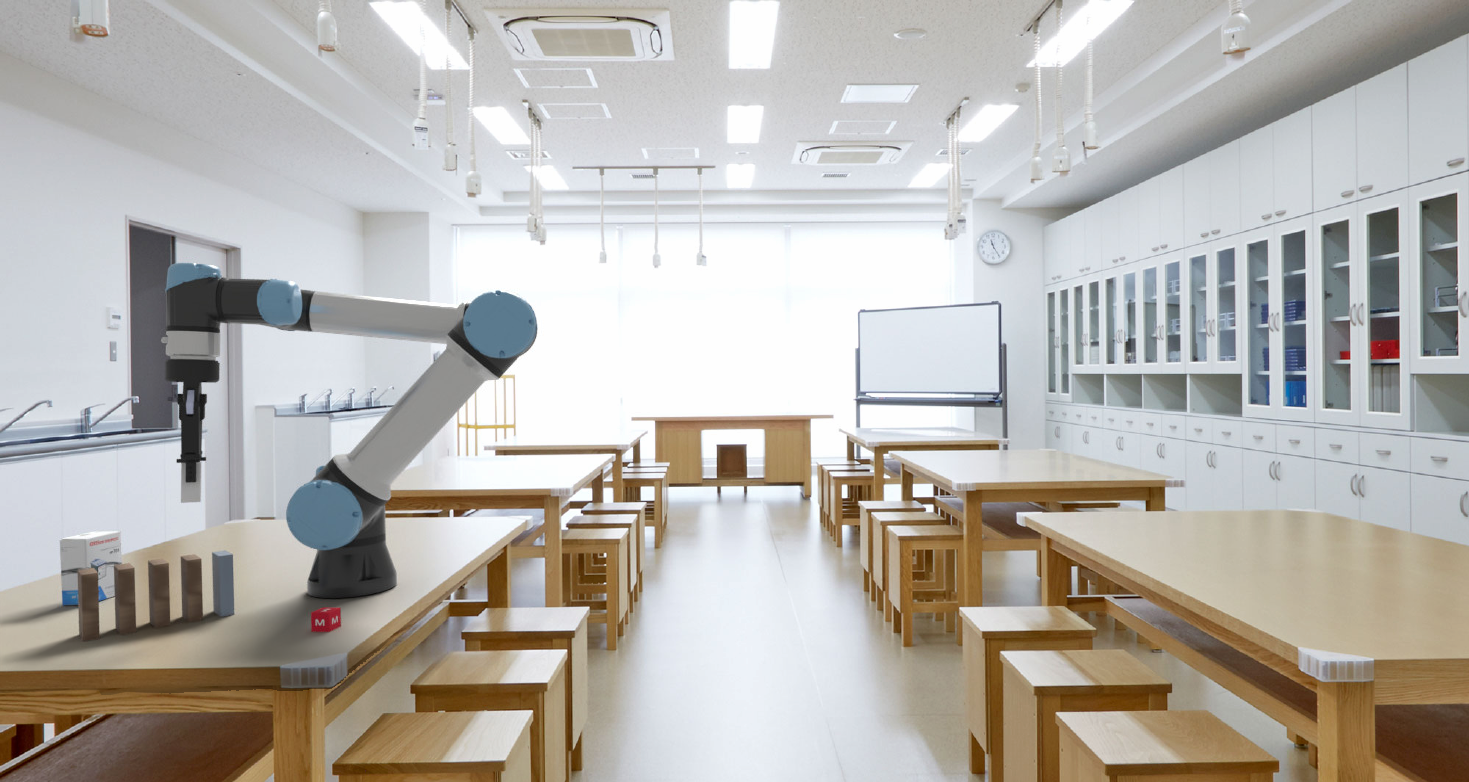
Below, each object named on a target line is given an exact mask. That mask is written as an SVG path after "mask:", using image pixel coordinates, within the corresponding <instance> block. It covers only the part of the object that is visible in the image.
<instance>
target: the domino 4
mask: <svg viewBox="0 0 1469 782" xmlns="http://www.w3.org/2000/svg"><path fill="white" fill-rule="evenodd" d="M211 563H212V564H211V566H212V567H211V568H212V569H211V570H212V599H213V601H212V603H213V604H212V606H213V609H212V610H213V612H214V613H215V614H216V615H218V616H219V617H226V616H227V617H228V616H232V615H233V616H234V615H235V590H234V588H235V583H234V581H235V579H234V554H233V553H231V552H230V551H227V550H226V549H225V550H219V551H217V550H216V551H212V552H211Z"/></svg>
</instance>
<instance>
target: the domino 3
mask: <svg viewBox="0 0 1469 782" xmlns="http://www.w3.org/2000/svg"><path fill="white" fill-rule="evenodd" d="M202 566H203V565H202V558H201V557H200V556H198V555H197V554H188V555H181V556H180V581H181V583H180V584H181V585H180V587H181V617H182V618H183V619H184V620H185V621H186V622H187V623H193V622H194V623H195V622H198V621H203V620H204V607H203V606H204V602H203V571H202V569H203V568H202Z"/></svg>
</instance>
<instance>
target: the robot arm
mask: <svg viewBox="0 0 1469 782" xmlns="http://www.w3.org/2000/svg"><path fill="white" fill-rule="evenodd" d="M221 273H222V271H221V269H220V268H219V267H218V266H216V265H213V264H207V263H206V264H205V263H194V262H193V263H192V262H176V263H173V264H171V265H169V267H168V268H167V274H166V275H167V276H166V284H165V285H166V286H165V290H164V292H165V293H164V294H165V331H166V333H165V335H166V336H163V337H161V339H160V341H161V343H162V344H166V345H165V355H166V356H168V357H170V359H168V358H167V359H166V361H165V363H164V364H165V365H164V367H165V368H164V370H165V371H164V380H165V381H166V382H167V383H183V384H182V393H177V397H176V401H177V402H176V403H177V405H178V419H179V421H180V448H181V449H180V453H181V454H180V456H179V457H180V458H176V464H180V463H181V464H180V466H181V469H180V503H181V504H182V503H183V504H184V503H185V504H186V503H187V504H188V503H200V502H201V503H202V466H203V465H202V463H203V462H207V456H203V450H202V446H203V420H204V419H206V418H205V417H206V405H207V402H208V393H203V391H202V388H203V387H202V383H209V384H211V383H215V384H216V383H218V382H219V381H220V370H221V369H220V367H221V366H220V362H219V361H218V360H217V358H219V357H220V356H221V324H239V325H259V326H265V327H269V328H276V329H278V330H281V331H285V332H286V331H287V332H295V331H298V332H308V333H309V332H313V333H322V334H323V333H324V334H332V335H333V334H334V335H343V336H346V335H347V336H356V337H365V338H366V337H367V338H375V339H376V338H378V339H385V340H387V339H388V340H398V341H409V342H417V343H418V342H420V343H429V344H430V343H431V344H440V345H442V344H443V345H446V346H445V347H446V348H445V350H444V351H442V353H441V354H439V356H438V357H437V358H436V359H435V360H434V361H433V362H432V363H431V365H429V367H428V368H427V369H426V370H425V371H424V372H423V373H422V374H421V375H420V377H419V378H417V379H416V381H415V382H413V384H412V385H411V386H410V387H409V388H408V390H406V392H404V394H402V396H401V397H400V398H399V399H398V400H397V401H396V402H395V403H394V405H392V406H391V408H390V409H389V410H388V411H387V412H386V413H385V414H384V415H383V416H382V418H380V420H379V421H378V422H377V423H376V424H375V425H374V426H373V427H371V428H372V429H370V430H369V432H367V434H366V435H365V436H364V437H363V438H362V439H360V441H359V442H358V443H357V444H356V446H355V447H354V448H353V449H352V450H351V451H350V452H349V453H343V454H335V455H334V456H333V457H332V458H331V459H330V460H329V461H328V462H327V463H326V464H325V465H321V466H318V467H317V468H316V470H315V476H314V477H313V478H312V479H311V480H310V481H309V482H306V483H304V484H303V485H301V486H300V487H298V488H297V489H296V490H295V492H294V493H293V495H292V496H291V498H290V499H289V500H288V503H287V506H286V513H285V518H286V524H287V527H288V530H289V532H290V533H291V534H292V536H293V537H294V538H295V539H296V540H297V541H298V542H299V543H301V544H302V545H303V546H305V547H307V548H310V549H313V550H316V554H315V557H314V559H313V562H312V566H311V569H310V572H309V576H308V578H307V584H306V585H307V587H306V588H307V589H306V590H307V595H309V596H311V597H315V598H319V599H321V598H322V599H339V598H341V599H342V598H343V599H344V598H353V597H360V596H361V597H362V596H368V595H373V594H378V593H381V592H384V591H388V590H389V589H392V588H394V587H395V586H396V585H397V584H398V579H397V577H398V576H397V570H396V567H395V565H394V562H393V558H392V557H391V554H390V552H389V548H388V546H387V542H386V541H387V539H386V538H387V537H386V535H387V534H386V533H387V531H386V528H387V527H386V525H387V524H386V504H387V503H388V502H389V500H390V499H391V498H392V491H391V487H392V486H391V485H392V484H393V483H394V481H396V479H398V477H400V475H401V474H402V473H403V472H404V471H405V470H406V468H408V466H410V465H411V463H412V462H413V461H414V460H415V459H416V458H417V456H419V454H421V452H422V451H423V450H424V449H425V448H426V447H427V445H429V443H430V442H431V441H432V440H433V439H434V438H435V437H436V435H437V434H439V432H441V430H442V429H443V428H444V427H445V426H446V425H447V424H448V422H450V421H451V419H452V418H453V417H454V416H455V415H456V414H457V412H459V411H460V410H461V408H462V407H463V406H464V405H465V404H466V403H467V402H468V401H469V399H470V398H471V397H473V395H474V394H475V393H476V392H477V391H478V390H479V388H480V387H481V386H482V385H483V384H484V383H485V382H487V381H496V380H500V379H501V377H502V376H503V375H504V374H505V373H506V372H507V371H508V370H509V368H510V367H511V366H512V365H514V363H515V362H517V360H518V358H520V357H521V356H523V355H524V354H526V353H527V352H528V351H529V350H530V349H531V348H533V345H534V344H535V342H536V339H537V337H538V336H537V335H538V321H537V317H536V313H535V311H534V308H533V307H532V306H531V304H530V303H528V301H527V300H526V299H525V298H523V297H521V296H520V294H518V293H515V292H513V291H510V290H504V289H494V290H490V291H487V292H483V293H482V294H480V295H478V296H477V297H475V298H474V299H473V300H472V301H471V300H464V301H462V302H461V303H460V304H459V305H457V304H447V303H439V302H428V301H420V300H419V301H418V300H409V299H408V300H407V299H398V298H390V297H389V298H387V297H379V296H378V297H377V296H367V295H357V294H349V293H348V294H347V293H338V292H337V293H336V292H326V291H317V290H316V291H315V290H308V289H299V285H298V284H297V283H296V282H294V281H293V280H292V281H291V280H283V279H282V280H281V279H277V278H269V279H259V278H258V279H255V278H228V277H222V276H223V275H222V274H221Z"/></svg>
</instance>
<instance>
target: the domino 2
mask: <svg viewBox="0 0 1469 782" xmlns="http://www.w3.org/2000/svg"><path fill="white" fill-rule="evenodd" d="M147 566H148V568H147V570H148V573H147V574H148V610H149V611H148V613H149V624H150V625H151V626H153V627H154V629H161V628H166V627H171V597H170V596H171V594H170V593H171V592H170V591H171V590H170V562H168V561H167V560H166V559H164V558H158V559H151V560H150V559H149V560H147Z"/></svg>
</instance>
